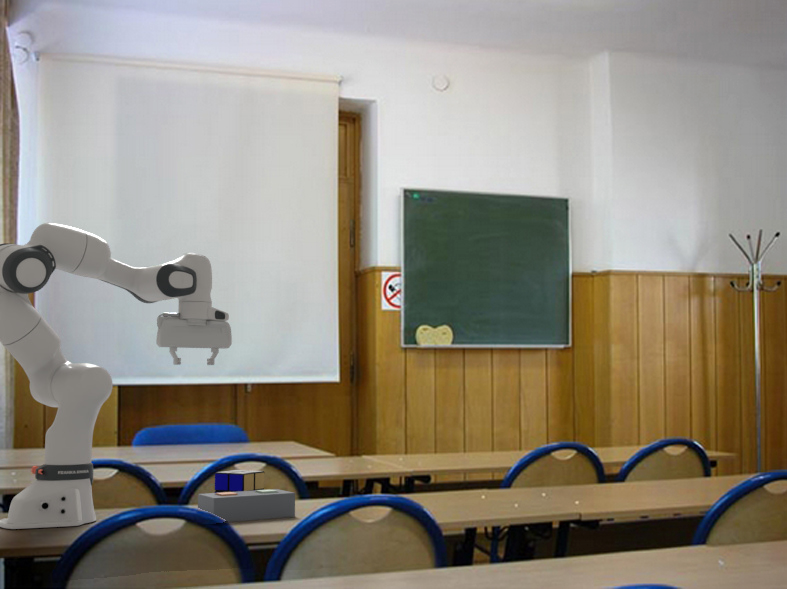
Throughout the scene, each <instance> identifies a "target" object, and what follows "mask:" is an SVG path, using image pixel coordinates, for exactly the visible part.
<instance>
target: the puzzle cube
mask: <svg viewBox="0 0 787 589" xmlns="http://www.w3.org/2000/svg"><path fill="white" fill-rule="evenodd" d="M265 473H266V472H265V471H264V470H252V469H251V470H248V469H233V470H231V469H230V470H226V471H216V472H215V473H214V490H215V491H214V493H222V492H238V491H254V490H265V481H266V480H265V478H266V477H265V476H266V475H265Z"/></svg>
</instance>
